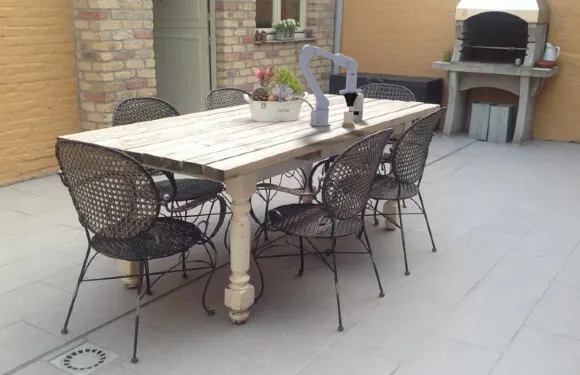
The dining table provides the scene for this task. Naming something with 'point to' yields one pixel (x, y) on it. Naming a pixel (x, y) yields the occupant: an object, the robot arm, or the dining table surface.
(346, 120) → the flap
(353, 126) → the carton
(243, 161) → the dining table surface
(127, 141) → the dining table surface
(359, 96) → the supplement can
